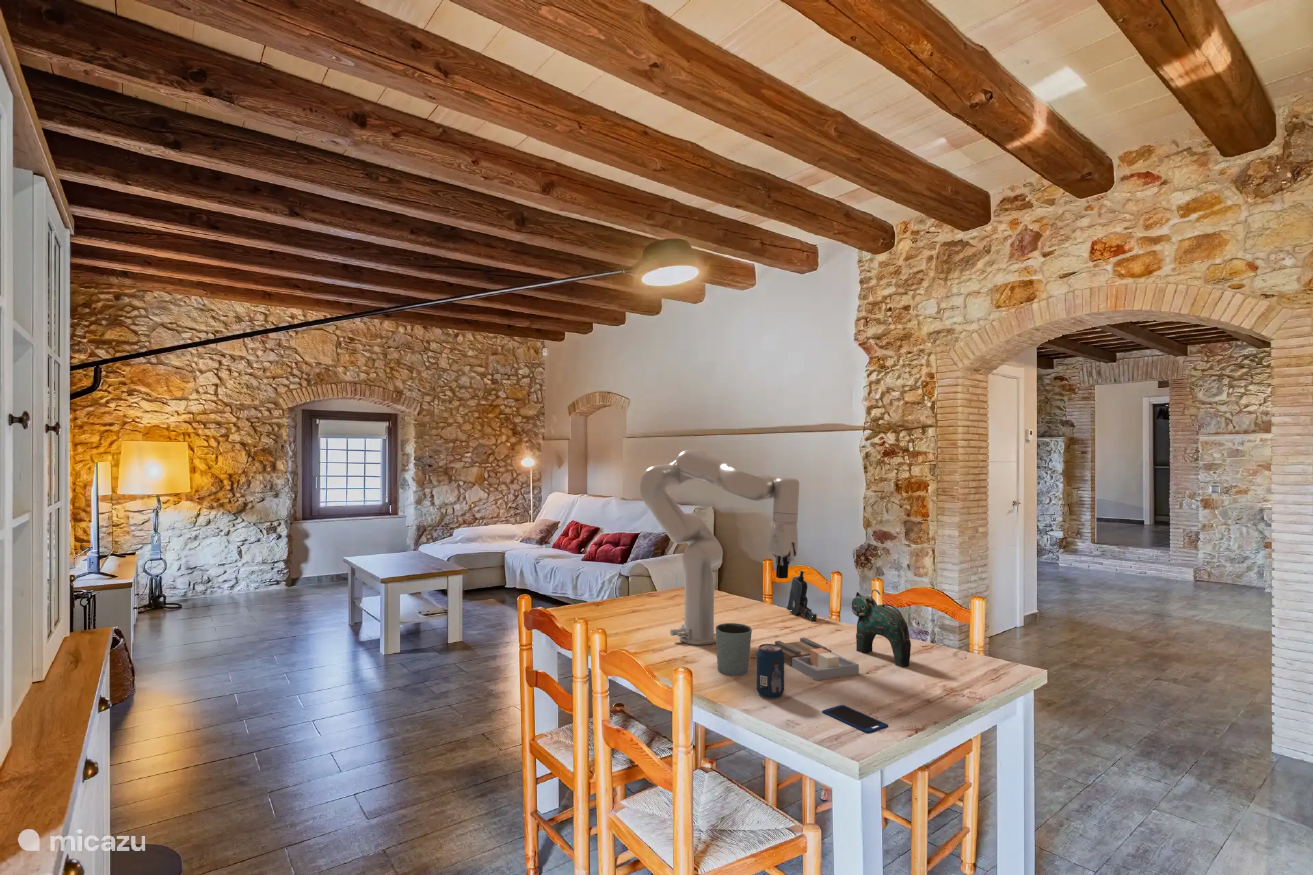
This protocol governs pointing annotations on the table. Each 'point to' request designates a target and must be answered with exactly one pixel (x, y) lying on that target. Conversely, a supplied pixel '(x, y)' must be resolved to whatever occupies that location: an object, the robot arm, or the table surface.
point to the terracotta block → (816, 655)
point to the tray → (812, 671)
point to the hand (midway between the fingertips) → (781, 577)
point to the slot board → (798, 649)
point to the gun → (800, 598)
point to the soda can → (770, 671)
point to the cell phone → (855, 719)
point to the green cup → (733, 648)
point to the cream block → (827, 660)
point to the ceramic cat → (881, 627)
